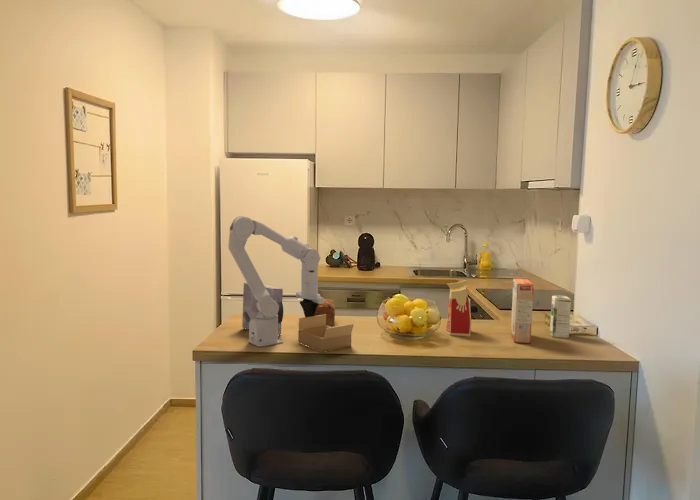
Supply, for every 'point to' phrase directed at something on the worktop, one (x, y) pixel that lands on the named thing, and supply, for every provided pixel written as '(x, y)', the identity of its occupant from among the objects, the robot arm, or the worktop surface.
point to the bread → (327, 311)
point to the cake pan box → (251, 309)
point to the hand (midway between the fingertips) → (309, 321)
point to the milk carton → (458, 310)
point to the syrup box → (560, 316)
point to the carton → (316, 341)
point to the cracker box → (522, 310)
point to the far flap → (312, 322)
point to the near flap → (338, 331)
